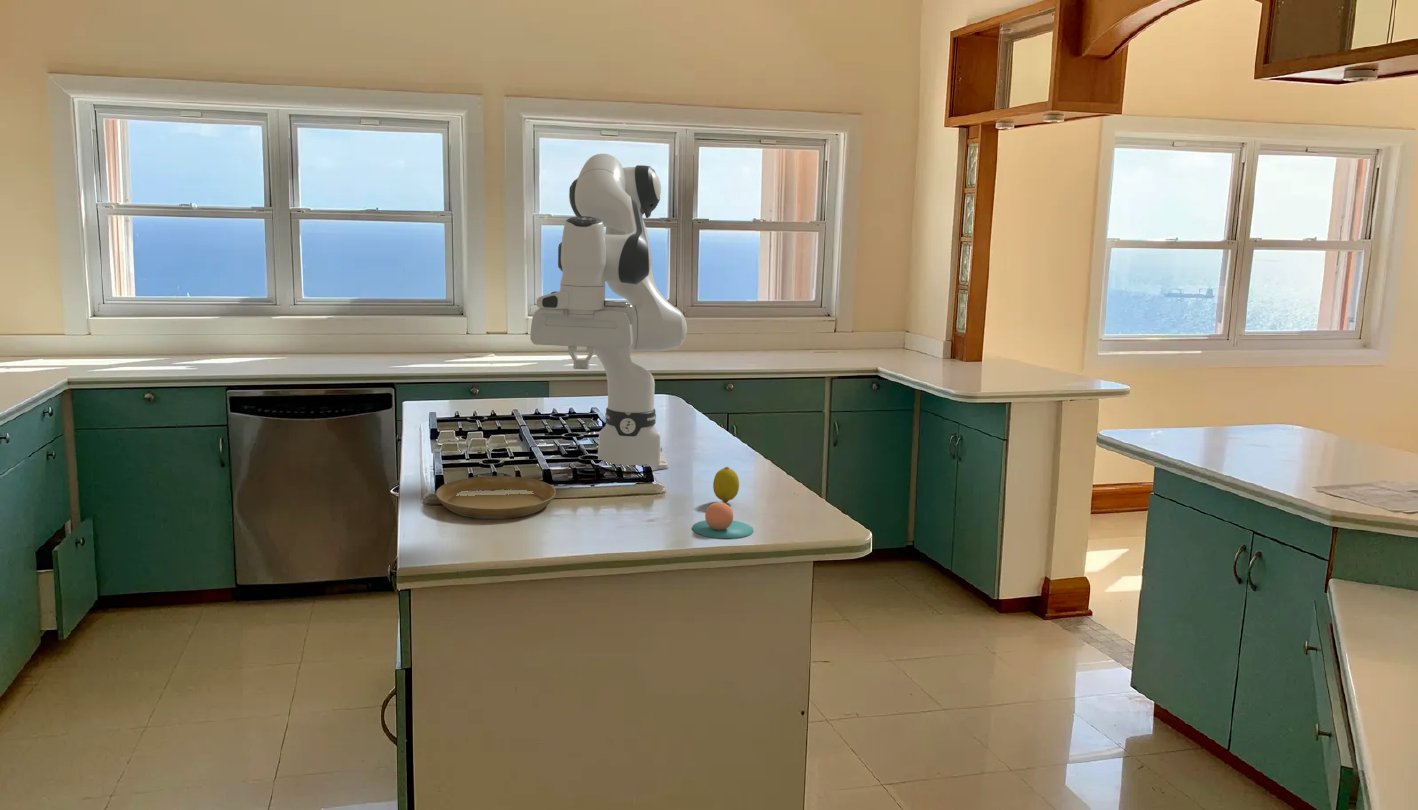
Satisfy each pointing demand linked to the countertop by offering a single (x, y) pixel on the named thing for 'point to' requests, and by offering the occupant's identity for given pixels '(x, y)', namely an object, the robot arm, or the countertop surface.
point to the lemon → (726, 484)
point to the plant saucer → (496, 497)
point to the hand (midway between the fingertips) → (581, 368)
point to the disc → (732, 531)
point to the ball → (719, 516)
